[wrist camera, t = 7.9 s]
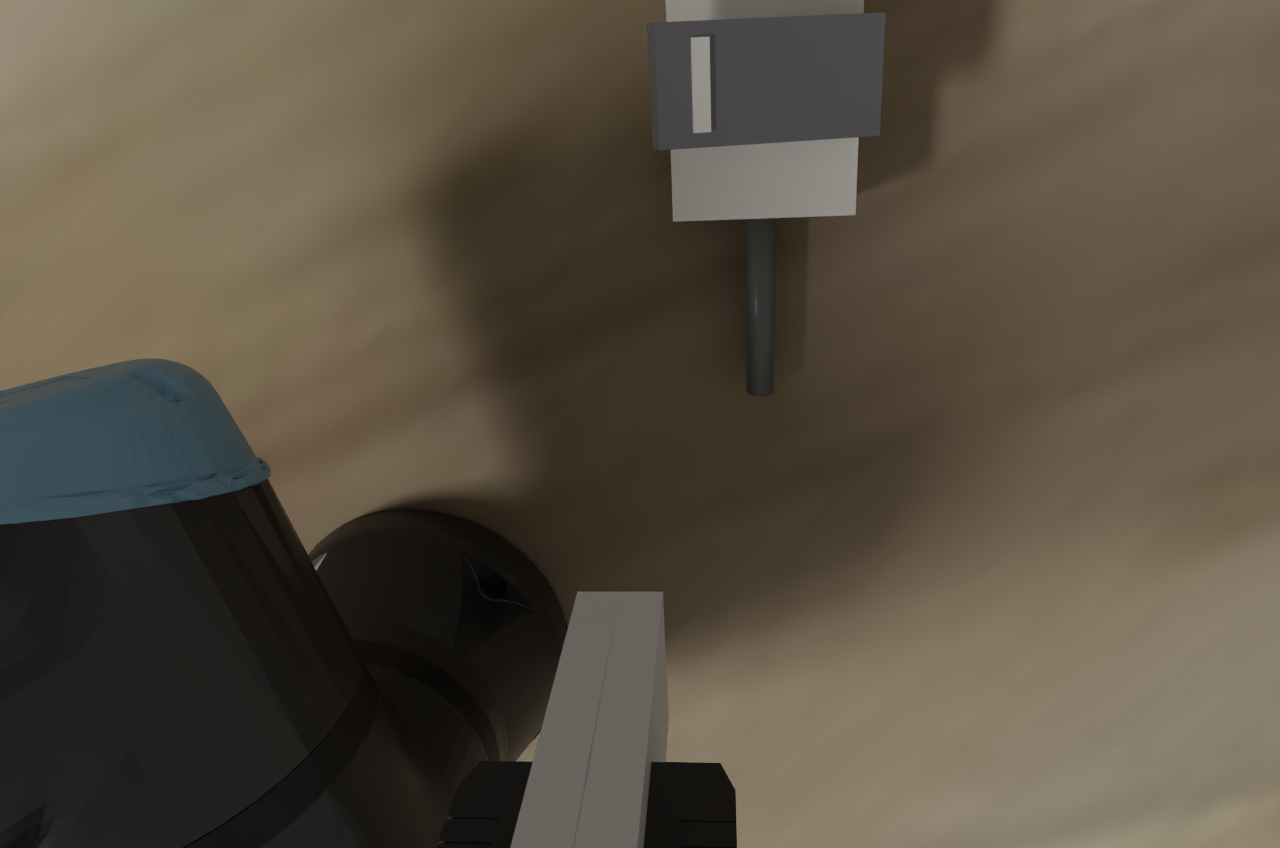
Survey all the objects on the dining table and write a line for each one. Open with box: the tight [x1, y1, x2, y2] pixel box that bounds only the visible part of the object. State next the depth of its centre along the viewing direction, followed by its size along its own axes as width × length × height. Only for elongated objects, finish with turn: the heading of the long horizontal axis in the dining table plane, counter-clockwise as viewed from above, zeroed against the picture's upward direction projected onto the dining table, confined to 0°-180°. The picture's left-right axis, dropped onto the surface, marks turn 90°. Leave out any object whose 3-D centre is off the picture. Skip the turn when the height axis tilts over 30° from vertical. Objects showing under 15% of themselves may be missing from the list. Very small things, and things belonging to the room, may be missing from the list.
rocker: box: [647, 12, 886, 150], centre depth 31 cm, size 8×4×1 cm, turn 93°
